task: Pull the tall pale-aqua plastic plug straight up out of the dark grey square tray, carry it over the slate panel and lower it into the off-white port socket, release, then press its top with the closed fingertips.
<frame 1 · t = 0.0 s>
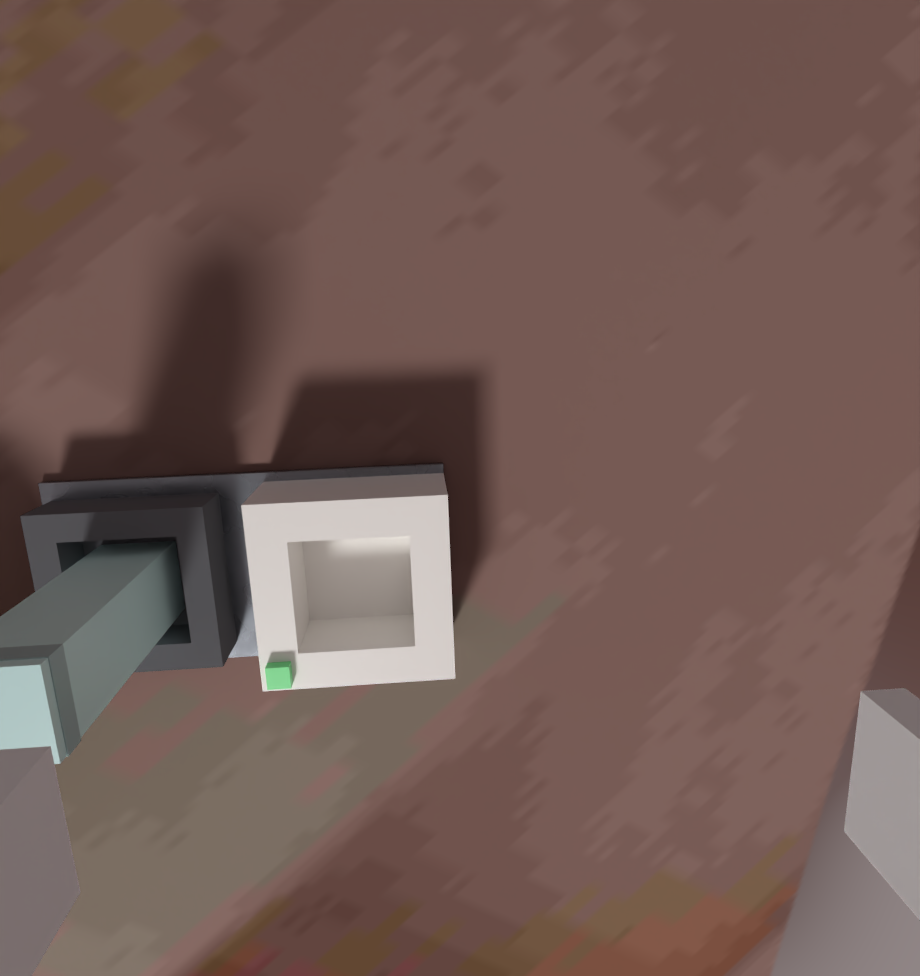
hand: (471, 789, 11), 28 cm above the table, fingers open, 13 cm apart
dark grey square tray: (147, 573, 38), resting on panel
plug: (143, 576, 38), point 1 cm above the table, touching dark grey square tray
port: (360, 561, 39), resting on panel
panel: (256, 565, 39), on the table
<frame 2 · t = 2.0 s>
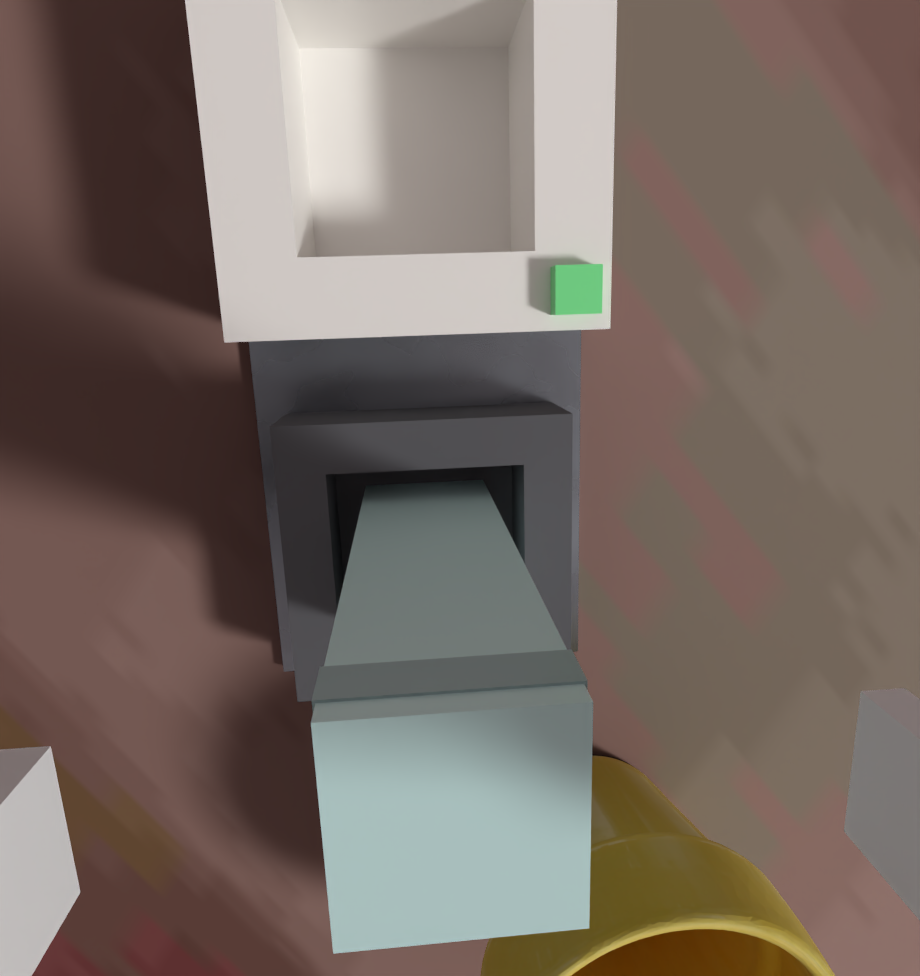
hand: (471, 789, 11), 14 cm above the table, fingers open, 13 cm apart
dark grey square tray: (426, 533, 24), resting on panel
plug: (427, 538, 24), point 1 cm above the table, touching dark grey square tray
port: (409, 168, 21), resting on panel
panel: (418, 362, 23), on the table
plant pot: (583, 817, 28), on the table
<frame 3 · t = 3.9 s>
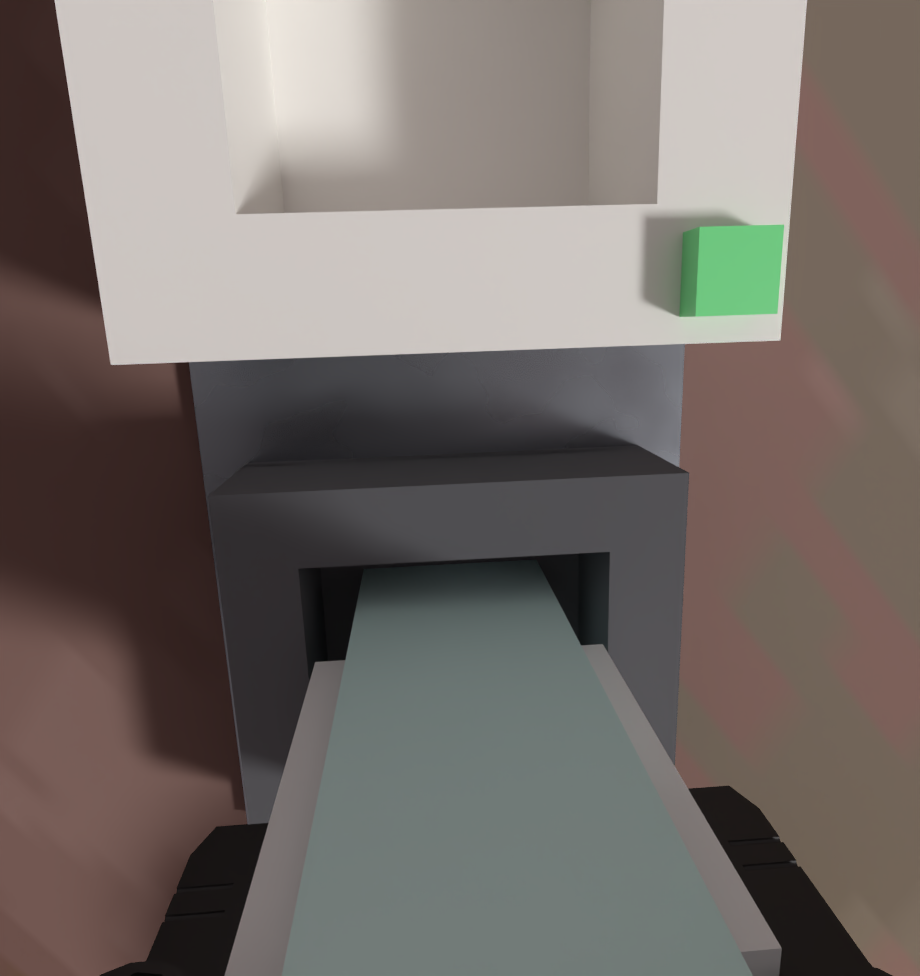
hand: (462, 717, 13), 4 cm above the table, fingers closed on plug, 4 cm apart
dark grey square tray: (452, 634, 17), resting on panel
plug: (453, 643, 16), point 1 cm above the table, touching gripper, dark grey square tray
port: (431, 91, 14), resting on panel
panel: (442, 386, 16), on the table
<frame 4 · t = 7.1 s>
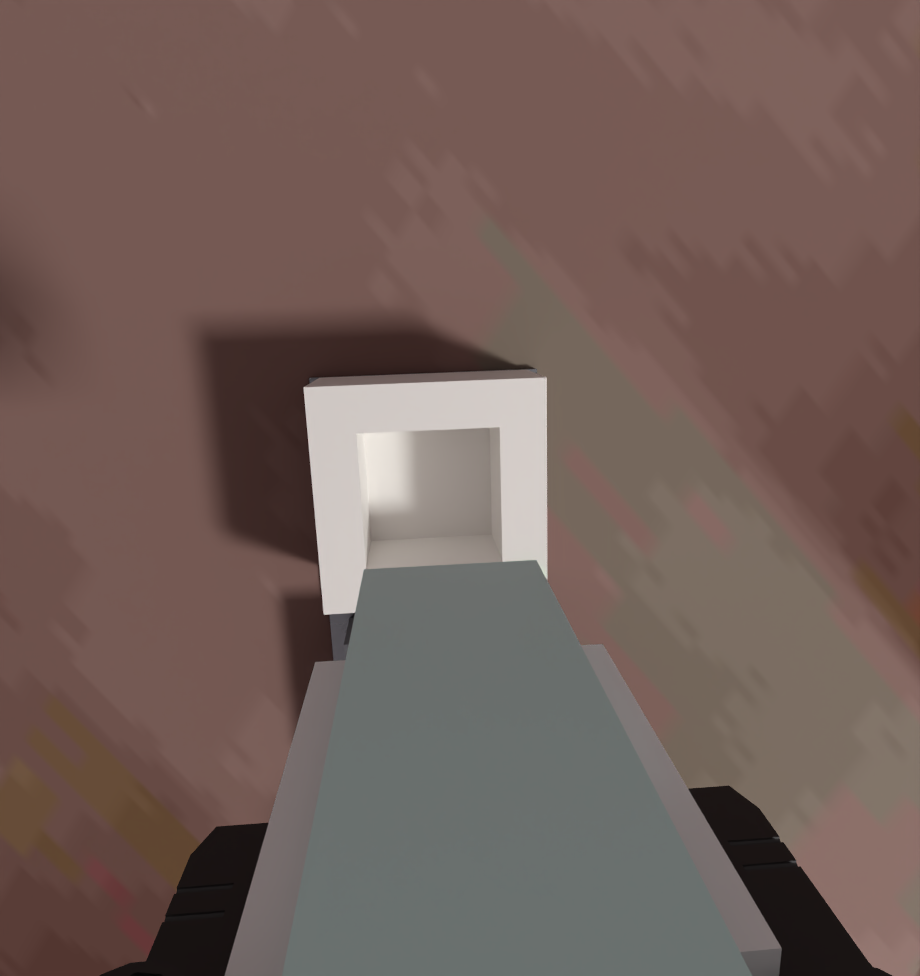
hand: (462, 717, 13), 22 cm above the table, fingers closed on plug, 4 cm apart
plug: (453, 643, 16), point 19 cm above the table, touching gripper
port: (428, 474, 34), resting on panel
panel: (433, 583, 36), on the table
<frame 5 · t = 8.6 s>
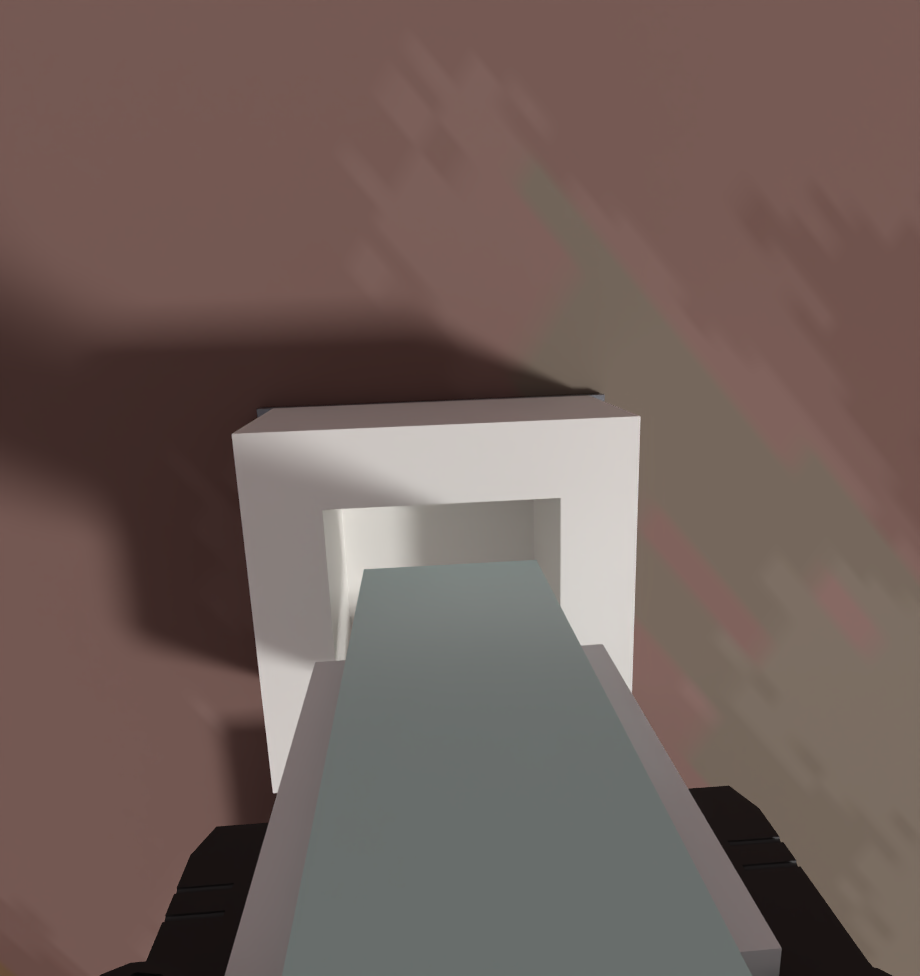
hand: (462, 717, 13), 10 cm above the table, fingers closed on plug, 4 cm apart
plug: (453, 643, 16), point 7 cm above the table, touching gripper
port: (439, 551, 23), resting on panel
panel: (445, 705, 24), on the table
when the fingers open (6 cm above the table, at t = 10.1 s): plug drops 1 cm, resting on port.
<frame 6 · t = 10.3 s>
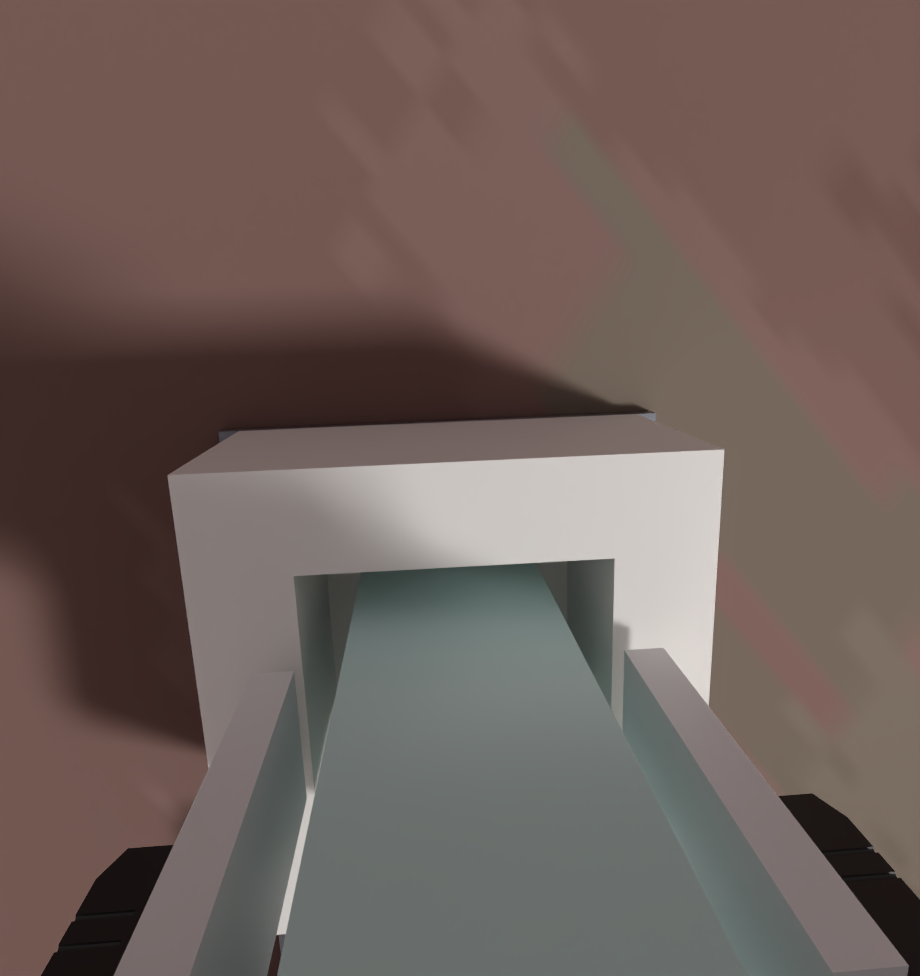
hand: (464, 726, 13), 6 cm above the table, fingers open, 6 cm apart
plug: (449, 623, 17), point 1 cm above the table, touching port
port: (448, 607, 18), resting on panel
panel: (455, 790, 20), on the table
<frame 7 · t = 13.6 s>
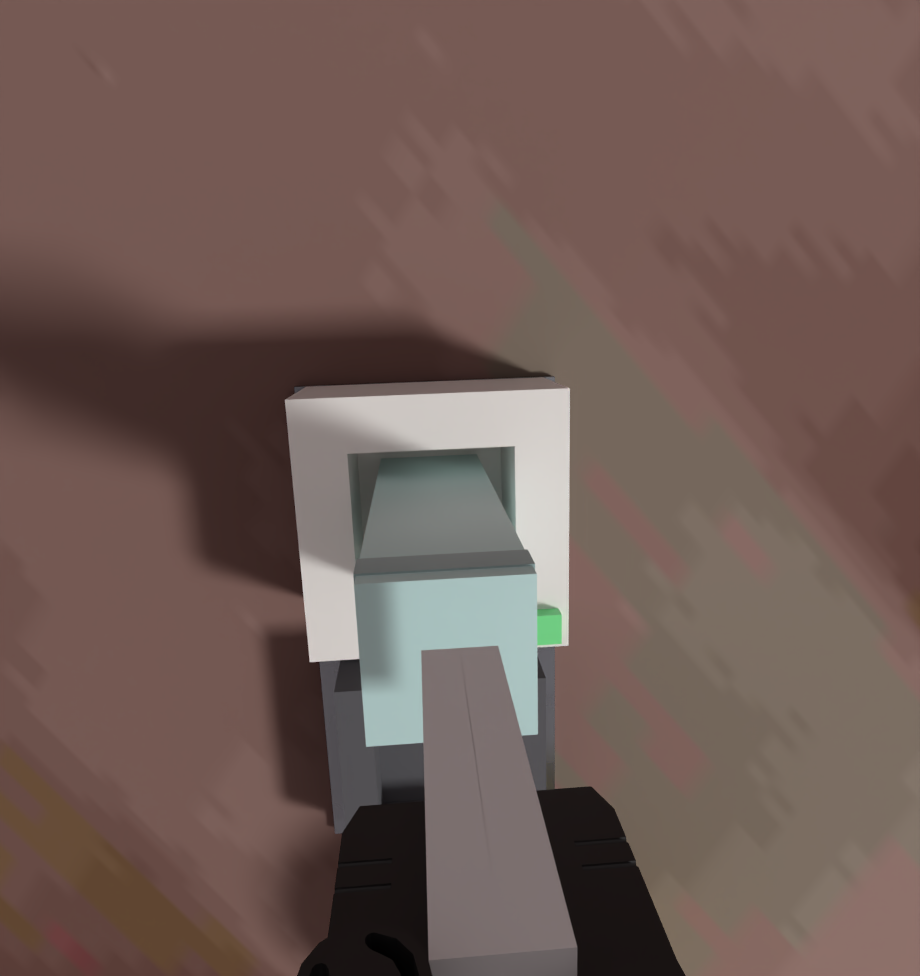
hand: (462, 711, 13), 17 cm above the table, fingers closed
dark grey square tray: (441, 736, 33), resting on panel
plug: (431, 502, 29), point 1 cm above the table, touching port
port: (431, 496, 30), resting on panel
panel: (436, 618, 32), on the table
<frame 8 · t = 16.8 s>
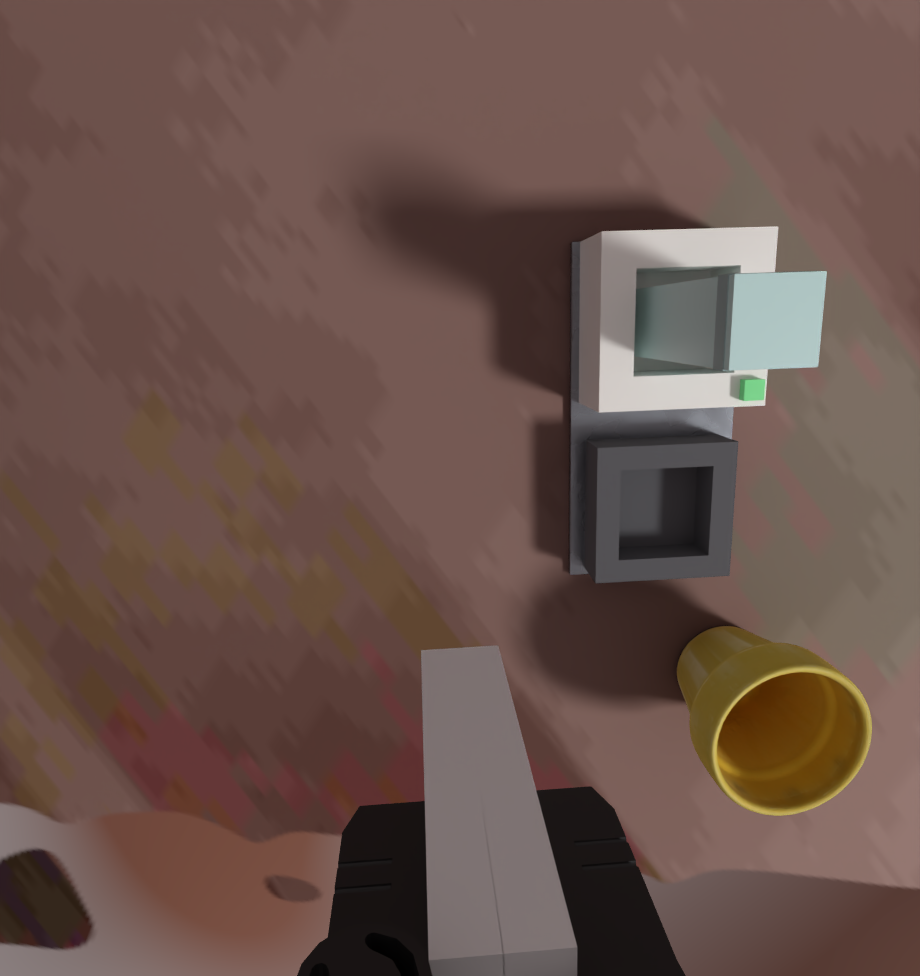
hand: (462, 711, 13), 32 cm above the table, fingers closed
dark grey square tray: (649, 501, 46), resting on panel
plug: (661, 321, 43), point 1 cm above the table, touching port
port: (656, 321, 44), resting on panel
panel: (650, 413, 45), on the table
plant pot: (719, 663, 50), on the table
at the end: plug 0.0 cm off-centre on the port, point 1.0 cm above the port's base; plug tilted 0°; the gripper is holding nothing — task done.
